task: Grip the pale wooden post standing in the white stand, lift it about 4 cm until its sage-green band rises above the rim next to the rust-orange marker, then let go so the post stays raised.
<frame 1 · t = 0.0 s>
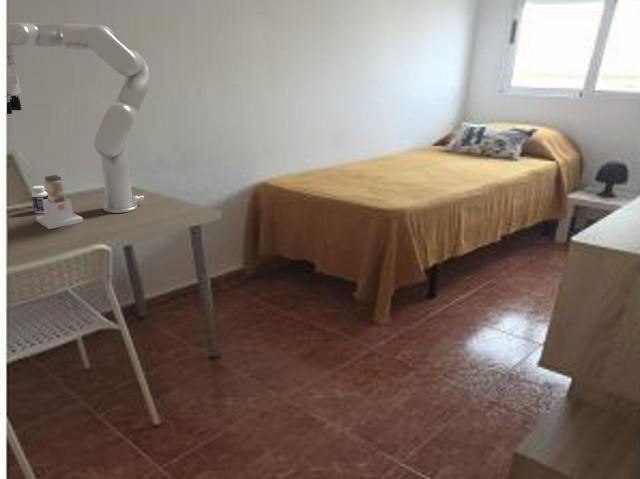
hand: (11, 112, 190), 37 cm above the table, tool pointing down, fingers open, 9 cm apart
pill bottle: (42, 212, 204), on the table
white stand: (59, 221, 193), on the table
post: (55, 196, 190), point 9 cm above the table, slide at 0.0 cm
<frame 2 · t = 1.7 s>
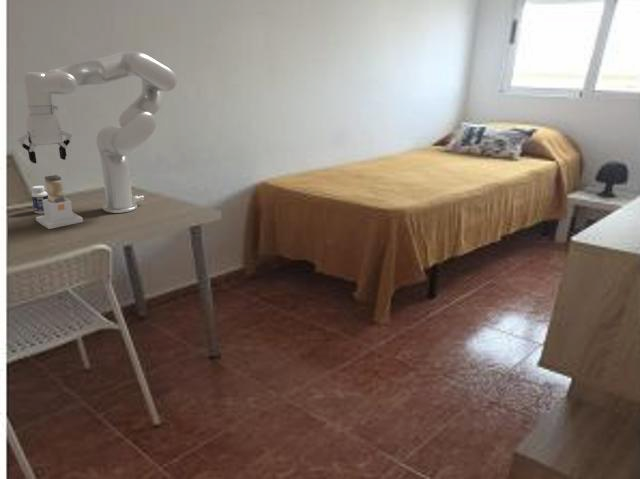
hand: (48, 160, 185), 22 cm above the table, tool pointing down, fingers open, 9 cm apart
nothing on the table moved.
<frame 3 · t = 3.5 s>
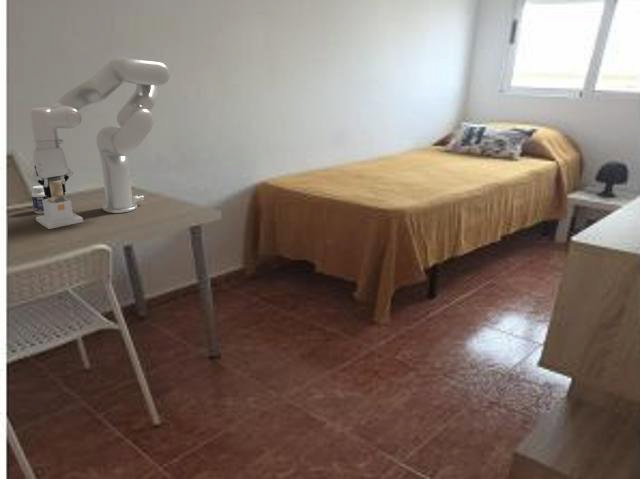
hand: (55, 195, 190), 10 cm above the table, tool pointing down, fingers closed on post, 4 cm apart
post: (55, 196, 190), point 9 cm above the table, slide at 0.0 cm, touching gripper
everything else where it was.
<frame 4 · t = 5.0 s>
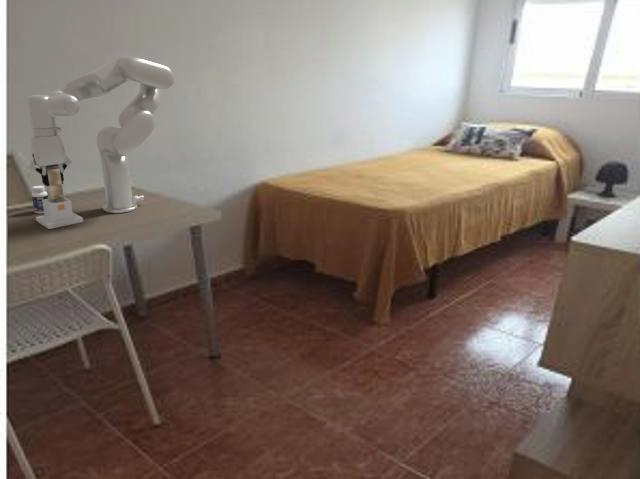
hand: (53, 183, 188), 14 cm above the table, tool pointing down, fingers closed on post, 4 cm apart
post: (54, 185, 189), point 13 cm above the table, slide at 4.1 cm, touching gripper
everything else where it was.
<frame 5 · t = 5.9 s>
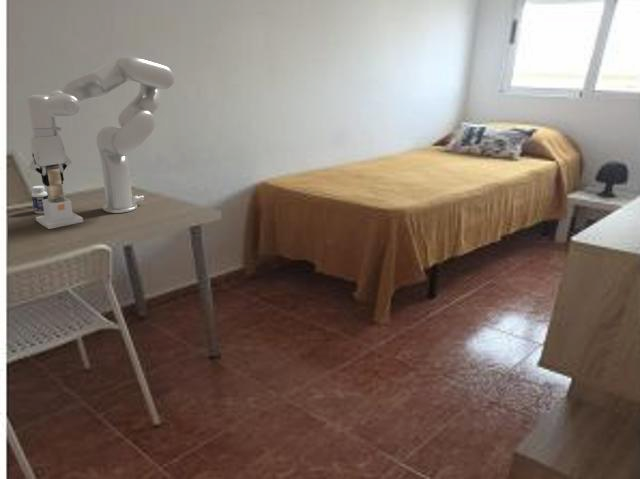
hand: (53, 183, 188), 14 cm above the table, tool pointing down, fingers closed on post, 4 cm apart
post: (54, 185, 189), point 13 cm above the table, slide at 4.1 cm, touching gripper
everything else where it was.
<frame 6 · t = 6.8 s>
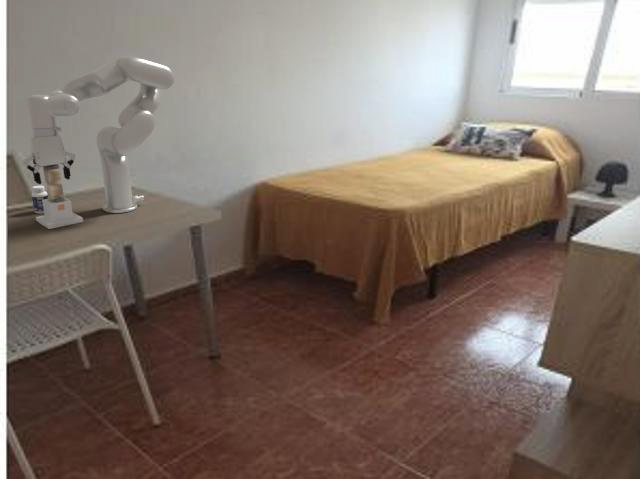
hand: (53, 181, 188), 15 cm above the table, tool pointing down, fingers open, 9 cm apart
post: (54, 185, 189), point 13 cm above the table, slide at 4.1 cm
everything else where it was.
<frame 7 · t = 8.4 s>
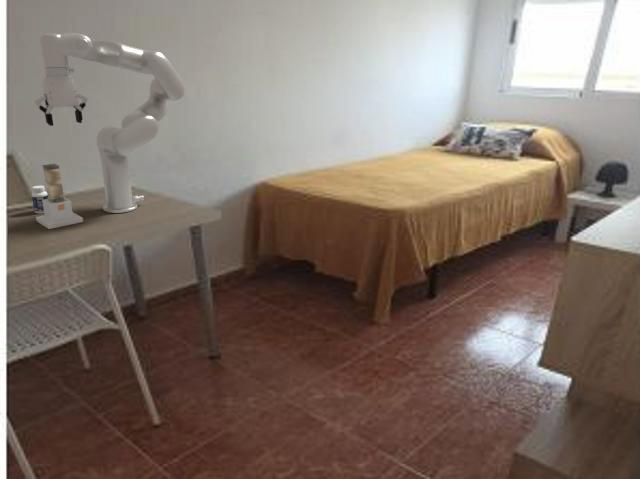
hand: (65, 123, 186), 34 cm above the table, tool pointing down, fingers open, 9 cm apart
nothing on the table moved.
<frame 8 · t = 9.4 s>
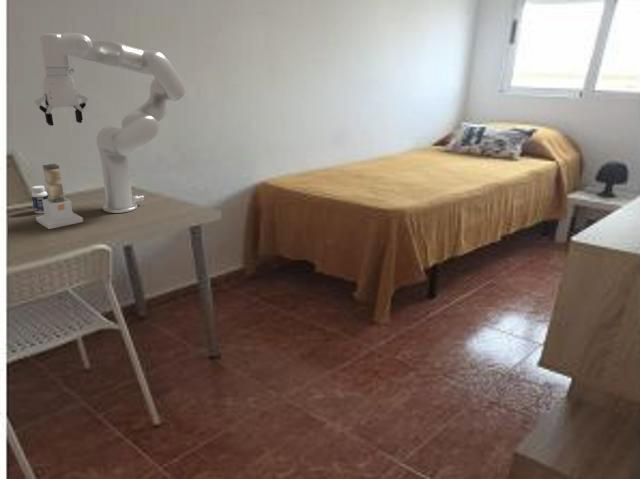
hand: (65, 123, 186), 34 cm above the table, tool pointing down, fingers open, 9 cm apart
nothing on the table moved.
at the end: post slide at 4.1 cm; the gripper is holding nothing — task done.
